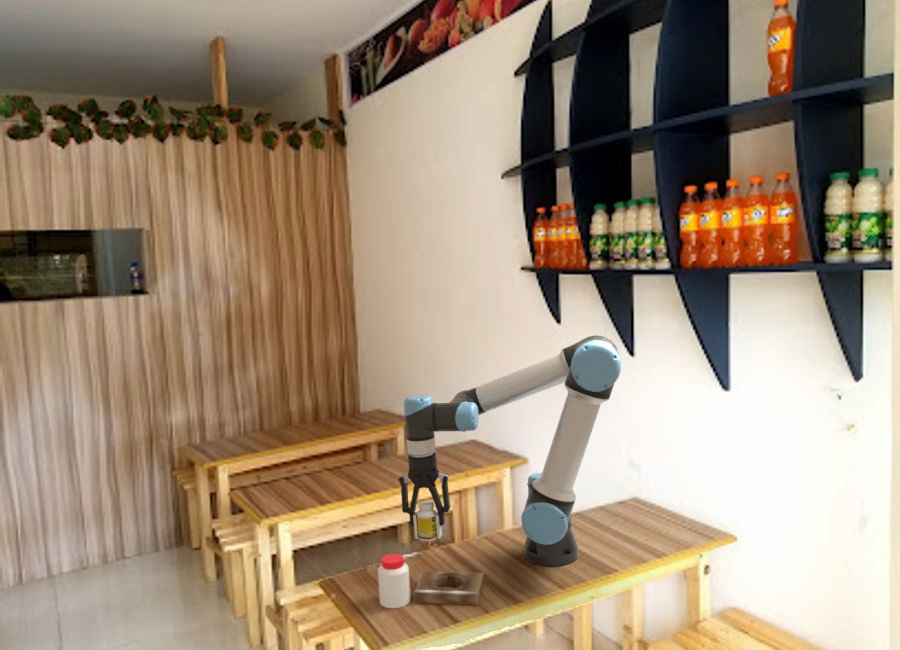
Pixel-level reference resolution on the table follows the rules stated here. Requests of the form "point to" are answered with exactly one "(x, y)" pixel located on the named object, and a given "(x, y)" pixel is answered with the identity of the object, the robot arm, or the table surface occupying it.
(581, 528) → the table surface
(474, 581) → the jig
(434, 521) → the supplement bottle
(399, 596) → the pill bottle
